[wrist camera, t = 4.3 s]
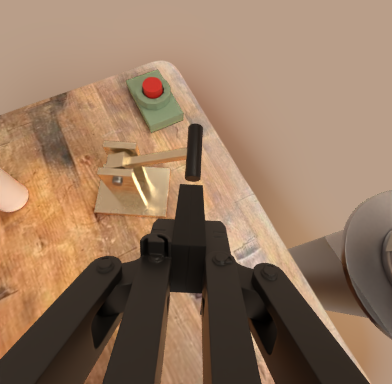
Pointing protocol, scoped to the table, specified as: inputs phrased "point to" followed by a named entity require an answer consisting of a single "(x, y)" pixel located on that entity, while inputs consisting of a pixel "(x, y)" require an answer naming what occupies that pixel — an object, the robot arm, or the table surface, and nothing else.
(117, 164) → the lever
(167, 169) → the power switch
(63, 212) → the table surface
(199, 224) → the robot arm
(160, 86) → the stop button
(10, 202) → the drinking glass
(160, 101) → the control pad
